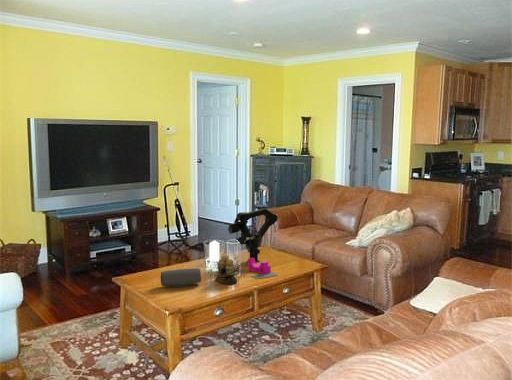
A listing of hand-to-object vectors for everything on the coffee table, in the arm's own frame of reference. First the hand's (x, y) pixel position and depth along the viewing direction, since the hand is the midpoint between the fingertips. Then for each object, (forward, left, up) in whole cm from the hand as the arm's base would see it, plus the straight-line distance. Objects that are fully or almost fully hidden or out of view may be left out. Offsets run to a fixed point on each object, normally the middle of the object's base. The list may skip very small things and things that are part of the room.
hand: (253, 249), depth 305 cm
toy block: (+10, -1, -12) cm, 16 cm away
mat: (+20, -3, -12) cm, 24 cm away
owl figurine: (+18, -29, -12) cm, 36 cm away
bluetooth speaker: (+13, -57, -12) cm, 60 cm away
